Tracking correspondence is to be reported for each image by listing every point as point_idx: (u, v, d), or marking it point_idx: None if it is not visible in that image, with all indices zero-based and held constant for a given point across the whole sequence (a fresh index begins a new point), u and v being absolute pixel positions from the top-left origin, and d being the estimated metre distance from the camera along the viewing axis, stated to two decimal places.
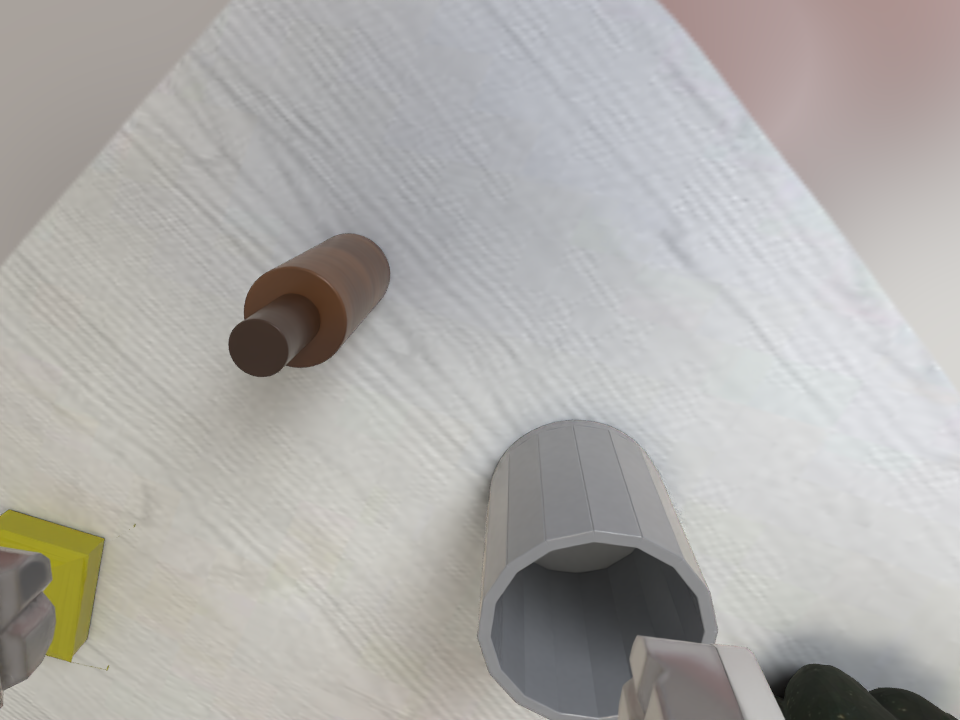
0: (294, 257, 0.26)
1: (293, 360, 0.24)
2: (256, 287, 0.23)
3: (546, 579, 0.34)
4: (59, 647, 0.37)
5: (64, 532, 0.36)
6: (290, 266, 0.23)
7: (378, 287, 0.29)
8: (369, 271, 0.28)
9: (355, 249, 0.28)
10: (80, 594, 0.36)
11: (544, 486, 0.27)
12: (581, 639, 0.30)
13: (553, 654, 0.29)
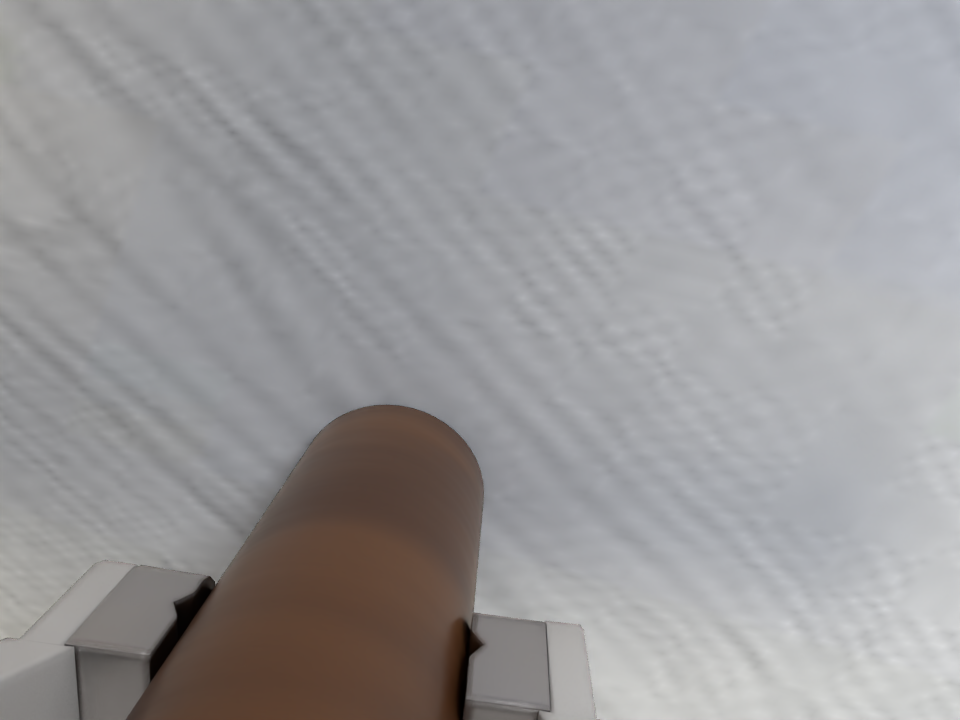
0: (229, 609, 0.07)
1: None
2: None
3: None
4: None
5: None
6: None
7: (475, 584, 0.11)
8: (460, 571, 0.10)
9: (417, 496, 0.10)
10: None
11: None
12: None
13: None
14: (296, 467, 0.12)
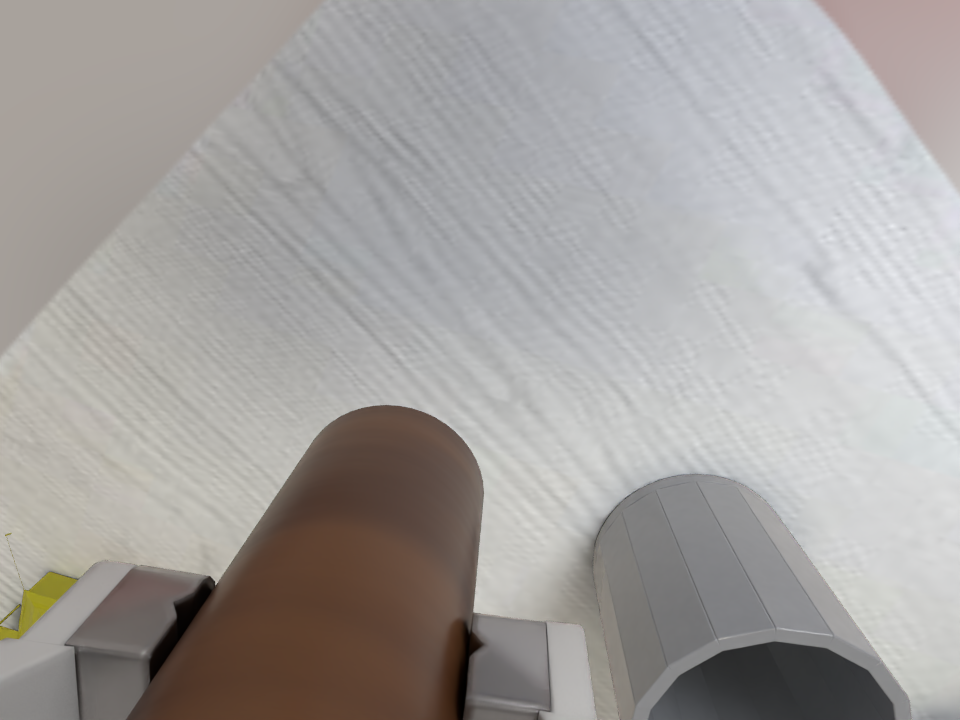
0: (229, 609, 0.07)
1: None
2: None
3: None
4: None
5: None
6: None
7: (475, 584, 0.11)
8: (460, 571, 0.10)
9: (416, 496, 0.10)
10: None
11: (688, 562, 0.24)
12: None
13: None
14: (296, 467, 0.12)
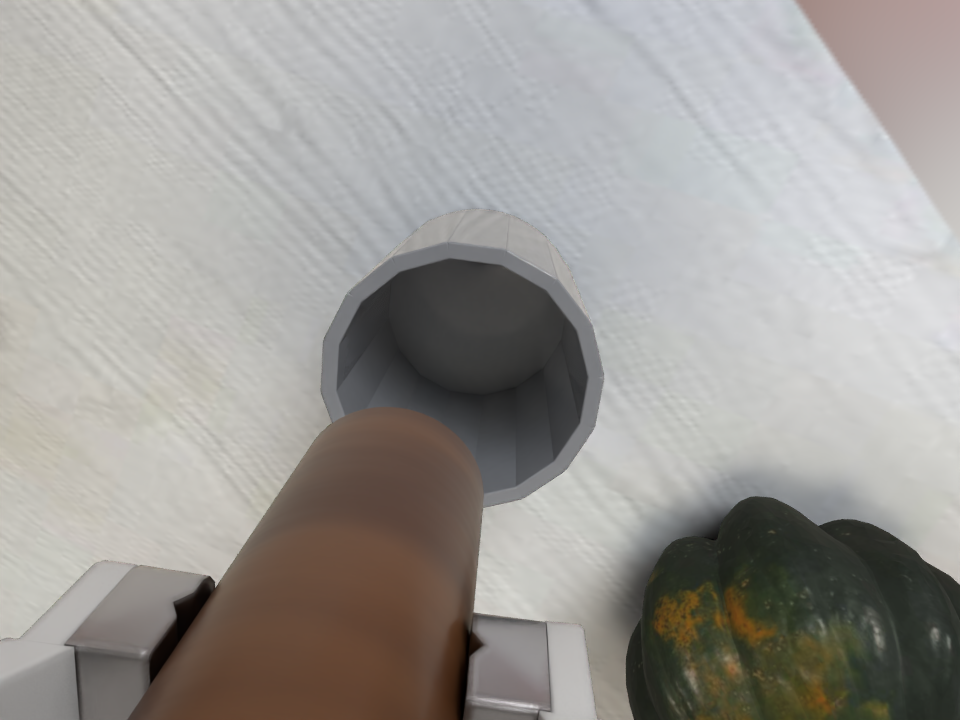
0: (228, 612, 0.07)
1: None
2: None
3: (444, 396, 0.30)
4: None
5: None
6: None
7: (475, 586, 0.11)
8: (460, 573, 0.10)
9: (416, 498, 0.10)
10: None
11: (414, 237, 0.23)
12: (470, 439, 0.26)
13: None
14: (296, 469, 0.12)
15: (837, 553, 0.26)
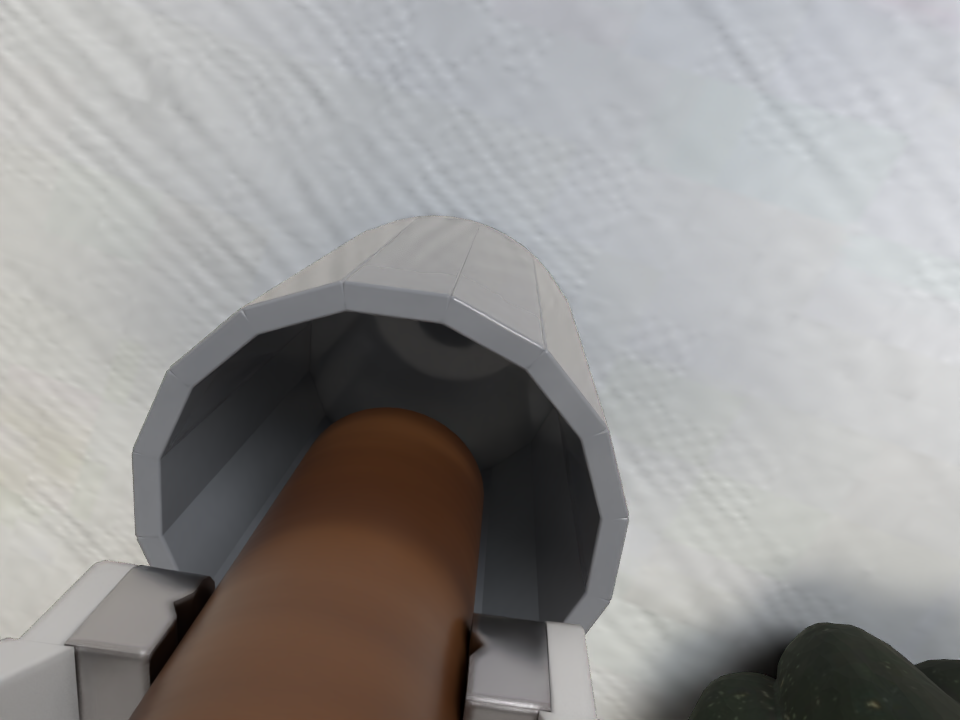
0: (229, 613, 0.07)
1: None
2: None
3: None
4: None
5: None
6: None
7: (475, 587, 0.11)
8: (460, 574, 0.10)
9: (417, 499, 0.10)
10: None
11: (315, 263, 0.14)
12: None
13: None
14: (296, 470, 0.12)
15: None
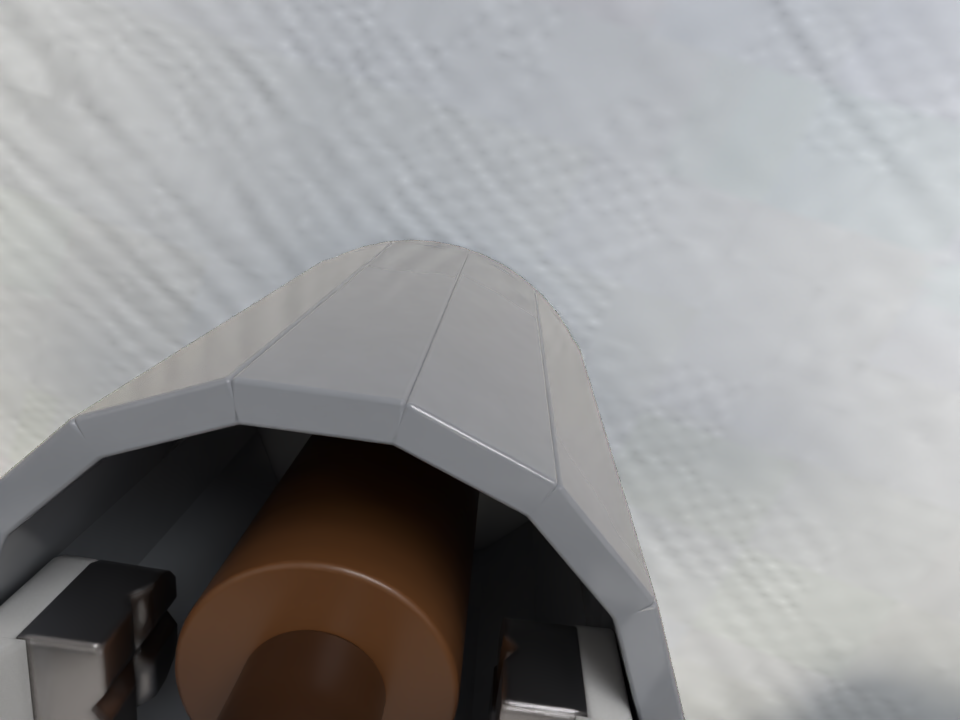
0: (309, 467, 0.11)
1: None
2: (207, 612, 0.08)
3: None
4: None
5: None
6: (304, 559, 0.08)
7: None
8: None
9: None
10: None
11: (234, 318, 0.10)
12: None
13: None
14: None
15: None
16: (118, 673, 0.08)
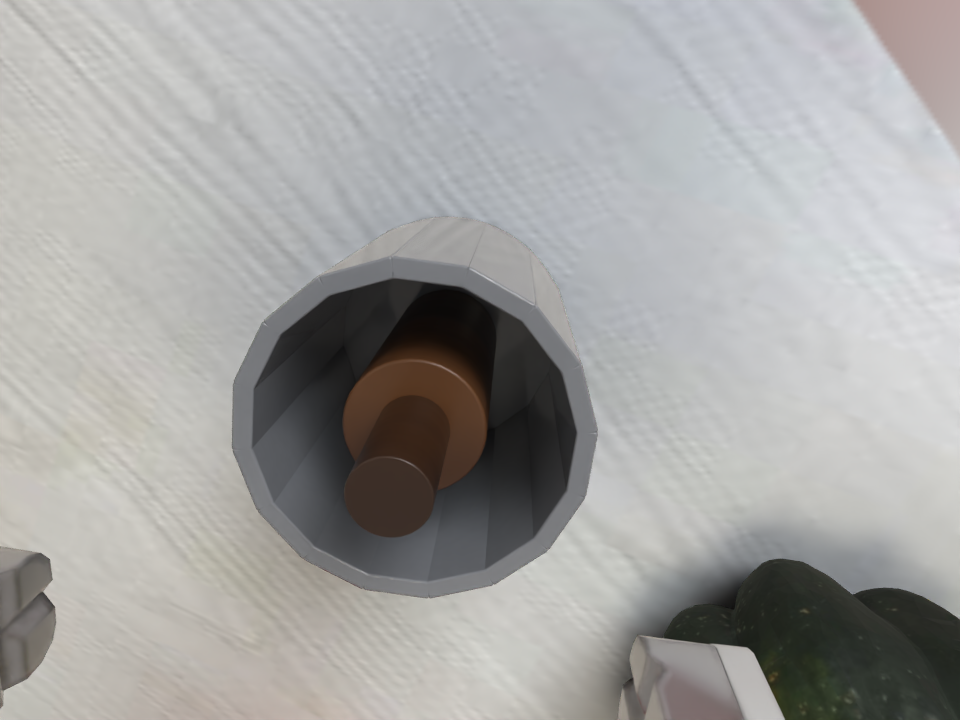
0: (400, 334, 0.19)
1: None
2: (362, 386, 0.17)
3: None
4: None
5: None
6: (411, 358, 0.16)
7: None
8: (488, 346, 0.21)
9: (467, 316, 0.22)
10: None
11: (360, 250, 0.19)
12: (435, 498, 0.21)
13: None
14: (403, 314, 0.23)
15: (886, 640, 0.21)
16: None
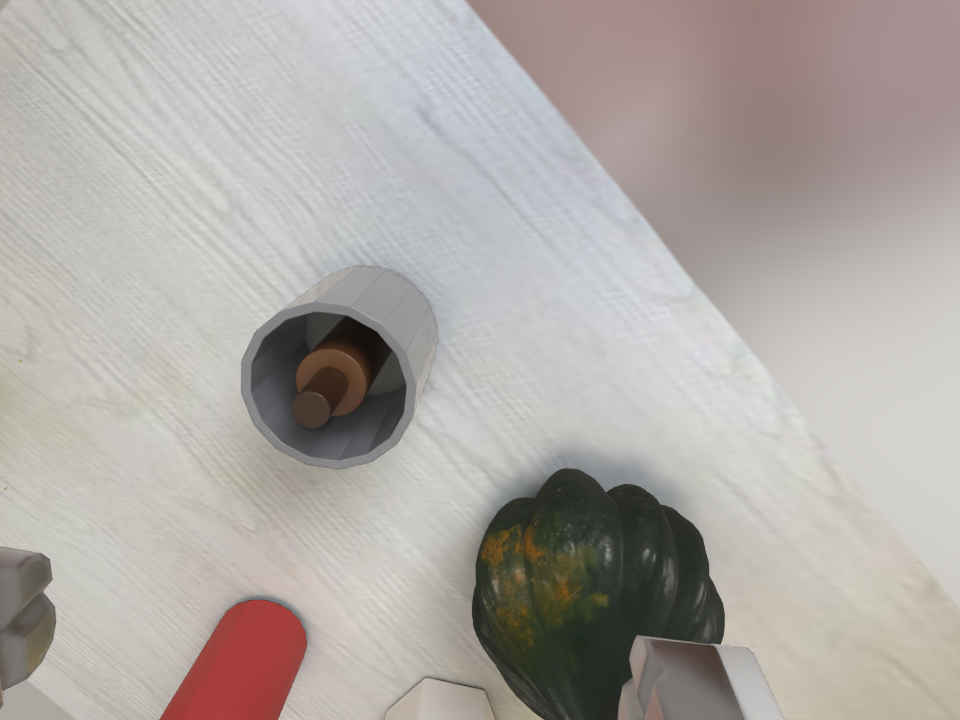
0: (328, 336, 0.36)
1: None
2: (304, 362, 0.34)
3: None
4: None
5: None
6: (328, 348, 0.34)
7: (387, 352, 0.39)
8: (380, 342, 0.38)
9: None
10: None
11: (307, 292, 0.36)
12: (352, 425, 0.39)
13: (324, 431, 0.38)
14: None
15: (598, 503, 0.38)
16: None
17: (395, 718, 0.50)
